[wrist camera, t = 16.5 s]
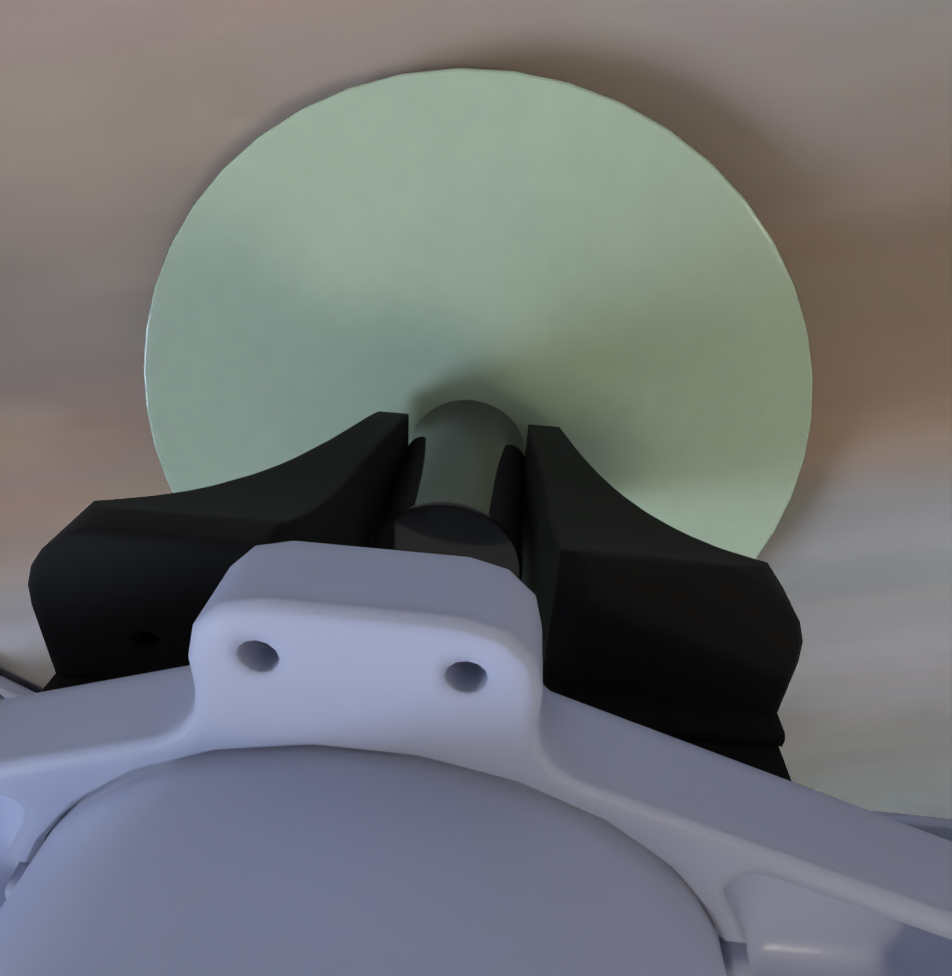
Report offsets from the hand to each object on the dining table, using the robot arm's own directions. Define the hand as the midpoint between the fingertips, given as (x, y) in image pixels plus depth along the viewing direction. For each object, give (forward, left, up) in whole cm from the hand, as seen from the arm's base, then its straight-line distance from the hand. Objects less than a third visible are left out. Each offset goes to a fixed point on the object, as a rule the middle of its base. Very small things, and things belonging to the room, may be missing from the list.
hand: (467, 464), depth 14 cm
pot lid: (0, 0, -1) cm, 1 cm away
